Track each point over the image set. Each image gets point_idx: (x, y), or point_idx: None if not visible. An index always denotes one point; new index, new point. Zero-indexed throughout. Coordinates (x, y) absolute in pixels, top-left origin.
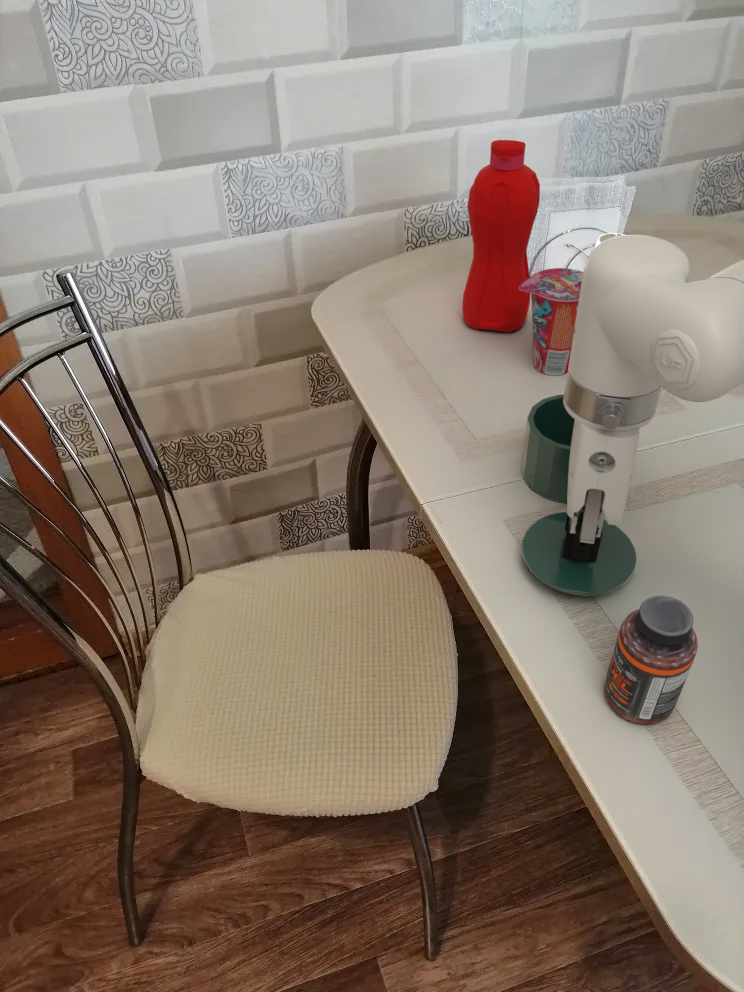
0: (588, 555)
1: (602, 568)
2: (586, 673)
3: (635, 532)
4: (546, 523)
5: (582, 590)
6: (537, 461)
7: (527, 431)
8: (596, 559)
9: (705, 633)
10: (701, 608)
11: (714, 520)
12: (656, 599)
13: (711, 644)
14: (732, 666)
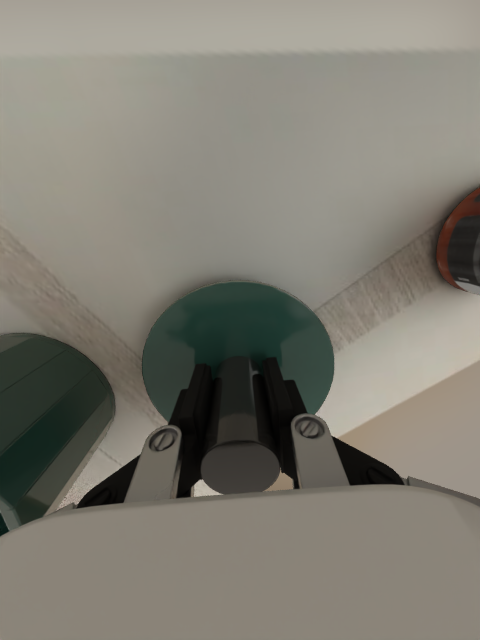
0: (296, 386)
1: (271, 336)
2: (437, 314)
3: (124, 279)
4: None
5: (329, 358)
6: (69, 489)
7: None
8: (275, 358)
9: (338, 124)
10: (276, 136)
11: (3, 116)
12: None
13: (364, 109)
14: (415, 58)
